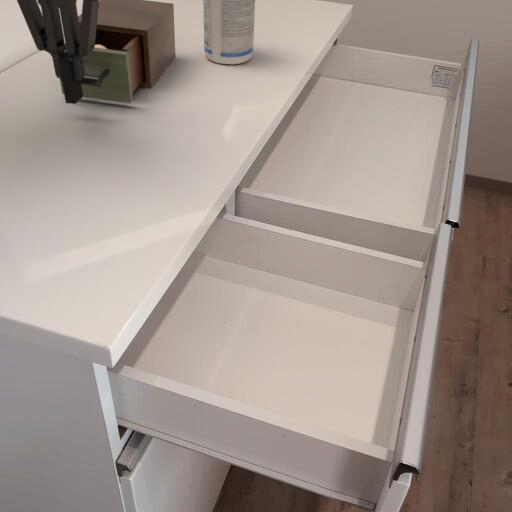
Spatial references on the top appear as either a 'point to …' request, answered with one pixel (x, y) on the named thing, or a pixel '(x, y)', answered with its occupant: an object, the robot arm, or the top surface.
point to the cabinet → (142, 30)
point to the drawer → (113, 67)
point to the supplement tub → (228, 30)
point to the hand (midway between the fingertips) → (74, 99)
